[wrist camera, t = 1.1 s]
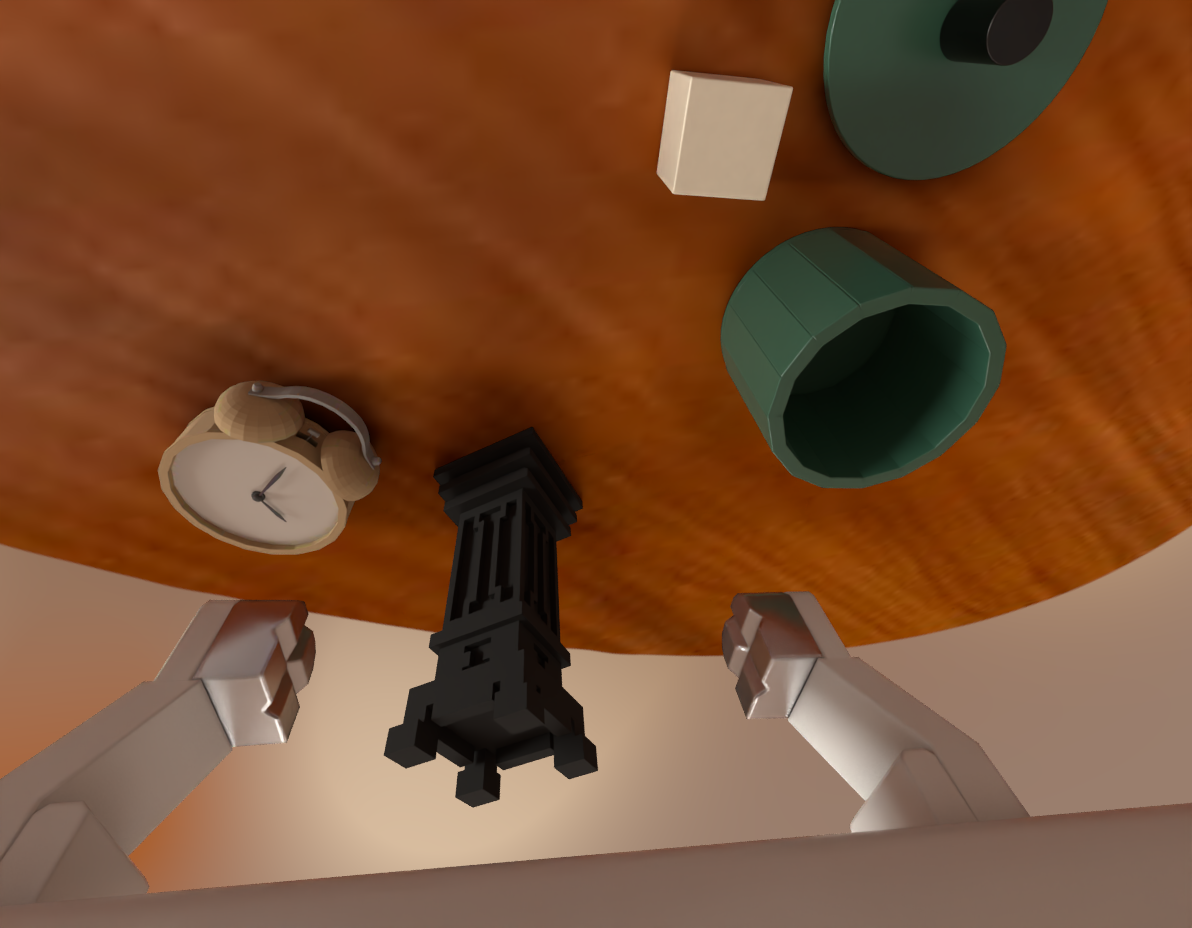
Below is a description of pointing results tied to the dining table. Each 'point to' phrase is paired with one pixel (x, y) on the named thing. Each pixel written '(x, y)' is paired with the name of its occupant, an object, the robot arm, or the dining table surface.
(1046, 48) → the lid
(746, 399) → the green hollow cylinder
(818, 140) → the dining table surface
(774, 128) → the block
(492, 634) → the chess piece
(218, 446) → the alarm clock
